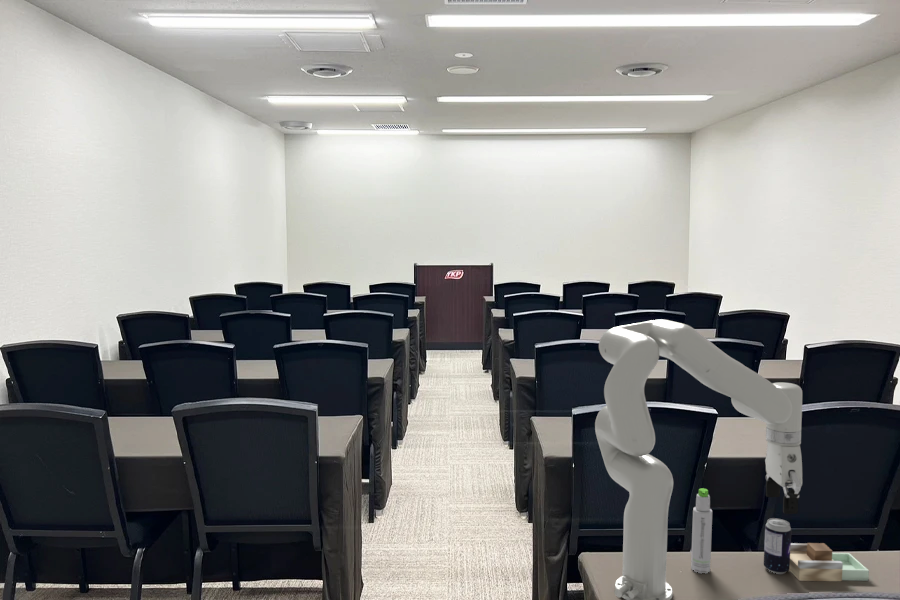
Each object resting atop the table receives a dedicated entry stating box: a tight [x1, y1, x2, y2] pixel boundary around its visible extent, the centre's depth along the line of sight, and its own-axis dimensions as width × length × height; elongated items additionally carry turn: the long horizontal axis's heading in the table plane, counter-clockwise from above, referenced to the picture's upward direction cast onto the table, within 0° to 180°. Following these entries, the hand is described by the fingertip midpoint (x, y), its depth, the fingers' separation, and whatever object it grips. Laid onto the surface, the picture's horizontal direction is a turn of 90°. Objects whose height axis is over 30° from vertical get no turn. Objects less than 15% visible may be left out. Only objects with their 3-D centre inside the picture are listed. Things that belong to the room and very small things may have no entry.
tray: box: [832, 552, 870, 582], centre depth 170 cm, size 6×9×2 cm
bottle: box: [690, 487, 713, 574], centre depth 170 cm, size 4×4×20 cm
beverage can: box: [763, 517, 792, 575], centre depth 170 cm, size 6×6×12 cm
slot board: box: [788, 542, 843, 582], centre depth 170 cm, size 10×10×4 cm
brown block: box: [807, 542, 833, 561], centre depth 170 cm, size 4×4×3 cm
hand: (781, 504), depth 169 cm, fingers open, 9 cm apart
